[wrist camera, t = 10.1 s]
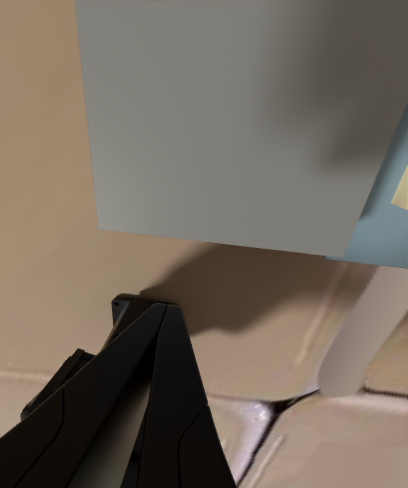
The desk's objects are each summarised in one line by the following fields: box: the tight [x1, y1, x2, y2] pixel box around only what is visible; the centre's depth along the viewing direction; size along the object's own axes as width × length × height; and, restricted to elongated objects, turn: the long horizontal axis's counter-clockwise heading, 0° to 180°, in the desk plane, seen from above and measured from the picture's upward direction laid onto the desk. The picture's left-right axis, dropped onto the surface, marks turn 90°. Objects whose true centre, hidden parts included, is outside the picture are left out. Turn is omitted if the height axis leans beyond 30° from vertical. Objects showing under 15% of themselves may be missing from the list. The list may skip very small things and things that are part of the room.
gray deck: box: [74, 0, 408, 258], centre depth 14 cm, size 14×16×4 cm
